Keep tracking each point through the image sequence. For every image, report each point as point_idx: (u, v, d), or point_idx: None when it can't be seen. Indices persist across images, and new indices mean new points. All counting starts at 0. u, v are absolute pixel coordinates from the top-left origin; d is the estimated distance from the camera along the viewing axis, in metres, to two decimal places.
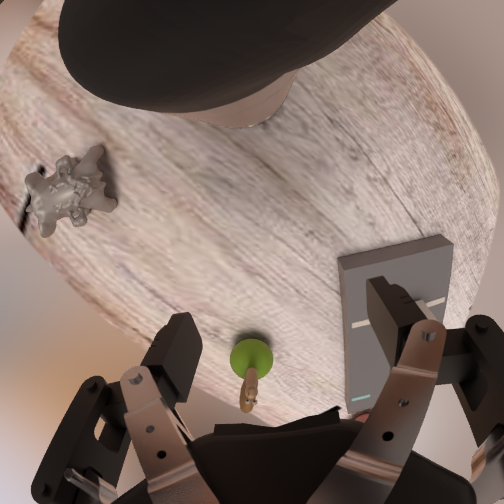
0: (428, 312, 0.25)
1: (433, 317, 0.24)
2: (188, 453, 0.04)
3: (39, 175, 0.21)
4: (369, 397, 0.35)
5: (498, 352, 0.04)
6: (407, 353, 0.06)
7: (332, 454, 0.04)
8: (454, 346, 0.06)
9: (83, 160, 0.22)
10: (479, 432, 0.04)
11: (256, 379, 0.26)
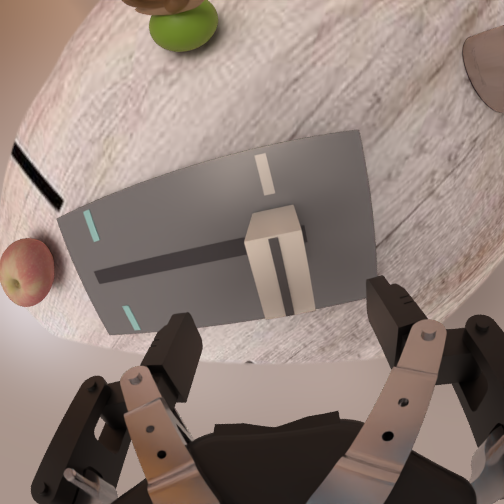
0: None
1: None
2: (188, 453, 0.04)
3: None
4: (91, 242, 0.22)
5: (498, 352, 0.04)
6: (407, 353, 0.06)
7: (332, 454, 0.04)
8: (454, 346, 0.06)
9: None
10: (479, 432, 0.04)
11: None
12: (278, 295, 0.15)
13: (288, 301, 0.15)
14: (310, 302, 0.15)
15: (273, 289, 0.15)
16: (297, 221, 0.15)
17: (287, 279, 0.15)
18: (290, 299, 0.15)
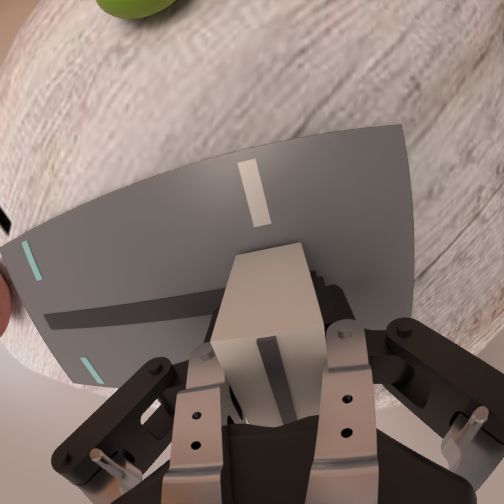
0: None
1: None
2: (222, 453, 0.04)
3: None
4: (34, 280, 0.15)
5: (431, 349, 0.06)
6: (331, 355, 0.07)
7: None
8: (374, 347, 0.07)
9: None
10: (436, 424, 0.05)
11: None
12: (274, 410, 0.08)
13: (290, 418, 0.08)
14: None
15: (266, 405, 0.08)
16: (312, 292, 0.08)
17: (290, 392, 0.08)
18: (294, 414, 0.08)
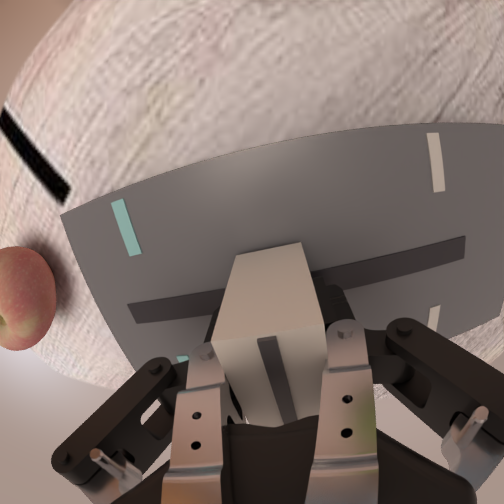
0: None
1: None
2: (221, 453, 0.04)
3: None
4: (124, 256, 0.13)
5: (431, 349, 0.06)
6: (330, 355, 0.07)
7: None
8: (374, 347, 0.07)
9: None
10: (436, 424, 0.05)
11: None
12: (275, 410, 0.08)
13: (291, 418, 0.08)
14: None
15: (266, 404, 0.08)
16: (312, 292, 0.08)
17: (290, 392, 0.08)
18: (294, 414, 0.08)
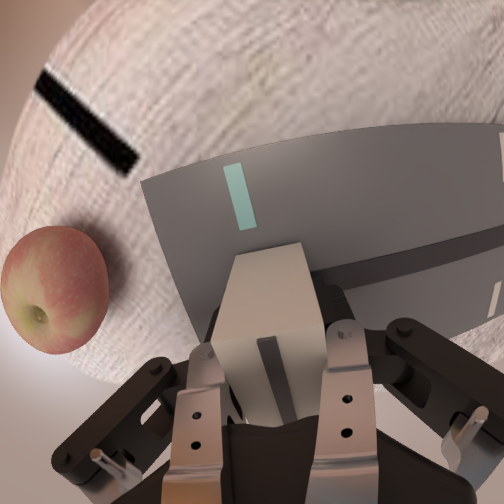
0: None
1: None
2: (222, 453, 0.04)
3: None
4: (231, 230, 0.13)
5: (431, 349, 0.06)
6: (330, 355, 0.07)
7: None
8: (374, 347, 0.07)
9: None
10: (436, 424, 0.05)
11: None
12: (274, 410, 0.08)
13: (290, 418, 0.08)
14: None
15: (266, 404, 0.08)
16: (312, 292, 0.08)
17: (290, 392, 0.08)
18: (294, 414, 0.08)
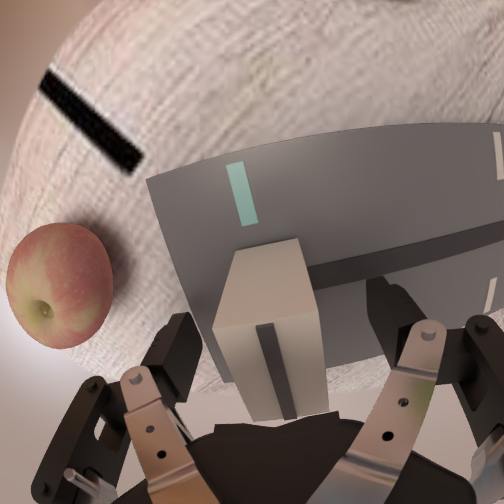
0: None
1: None
2: (188, 453, 0.04)
3: None
4: (233, 226, 0.13)
5: (498, 352, 0.04)
6: (407, 353, 0.06)
7: (332, 454, 0.04)
8: (454, 346, 0.06)
9: None
10: (479, 432, 0.04)
11: None
12: (273, 398, 0.09)
13: (288, 405, 0.08)
14: (322, 403, 0.09)
15: (264, 392, 0.08)
16: (308, 283, 0.09)
17: (288, 379, 0.08)
18: (292, 401, 0.09)
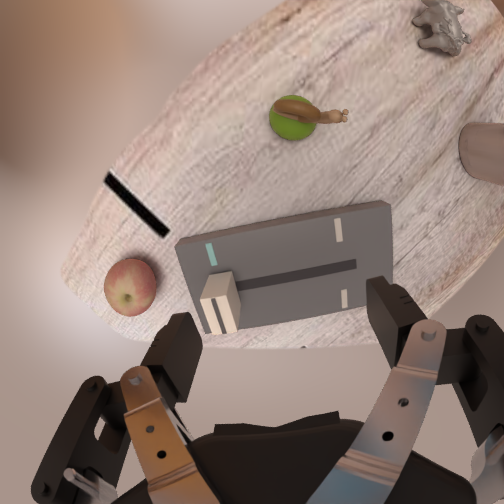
0: (239, 312, 0.33)
1: (238, 318, 0.33)
2: (188, 453, 0.04)
3: None
4: (208, 265, 0.35)
5: (498, 352, 0.04)
6: (407, 353, 0.06)
7: (332, 454, 0.04)
8: (454, 346, 0.06)
9: None
10: (479, 432, 0.04)
11: None
12: (217, 323, 0.30)
13: (222, 326, 0.30)
14: (234, 327, 0.30)
15: (215, 321, 0.30)
16: (227, 288, 0.30)
17: (221, 316, 0.30)
18: (224, 325, 0.30)
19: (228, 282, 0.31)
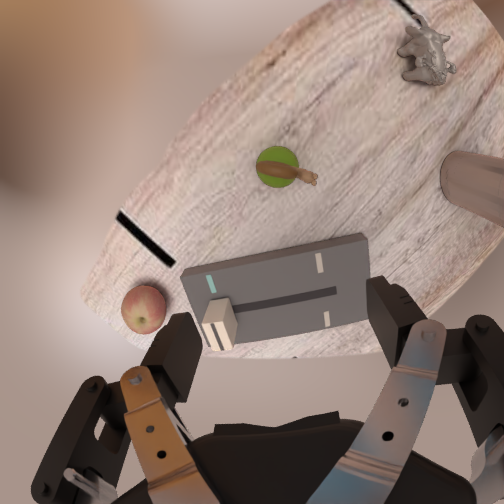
0: (235, 332, 0.39)
1: (234, 336, 0.39)
2: (188, 453, 0.04)
3: None
4: (209, 293, 0.41)
5: (498, 352, 0.04)
6: (407, 353, 0.06)
7: (332, 454, 0.04)
8: (454, 346, 0.06)
9: (445, 77, 0.25)
10: (479, 432, 0.04)
11: None
12: (216, 342, 0.36)
13: (221, 345, 0.36)
14: (230, 345, 0.36)
15: (214, 340, 0.36)
16: (223, 314, 0.36)
17: (219, 337, 0.36)
18: (222, 344, 0.36)
19: (225, 308, 0.37)
